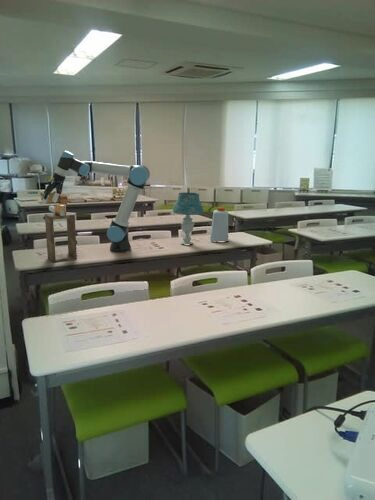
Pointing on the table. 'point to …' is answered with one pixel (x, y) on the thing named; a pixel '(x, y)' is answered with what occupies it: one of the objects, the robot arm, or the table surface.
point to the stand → (70, 233)
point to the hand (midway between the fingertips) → (48, 202)
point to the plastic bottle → (219, 225)
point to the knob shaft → (58, 210)
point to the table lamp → (188, 212)
